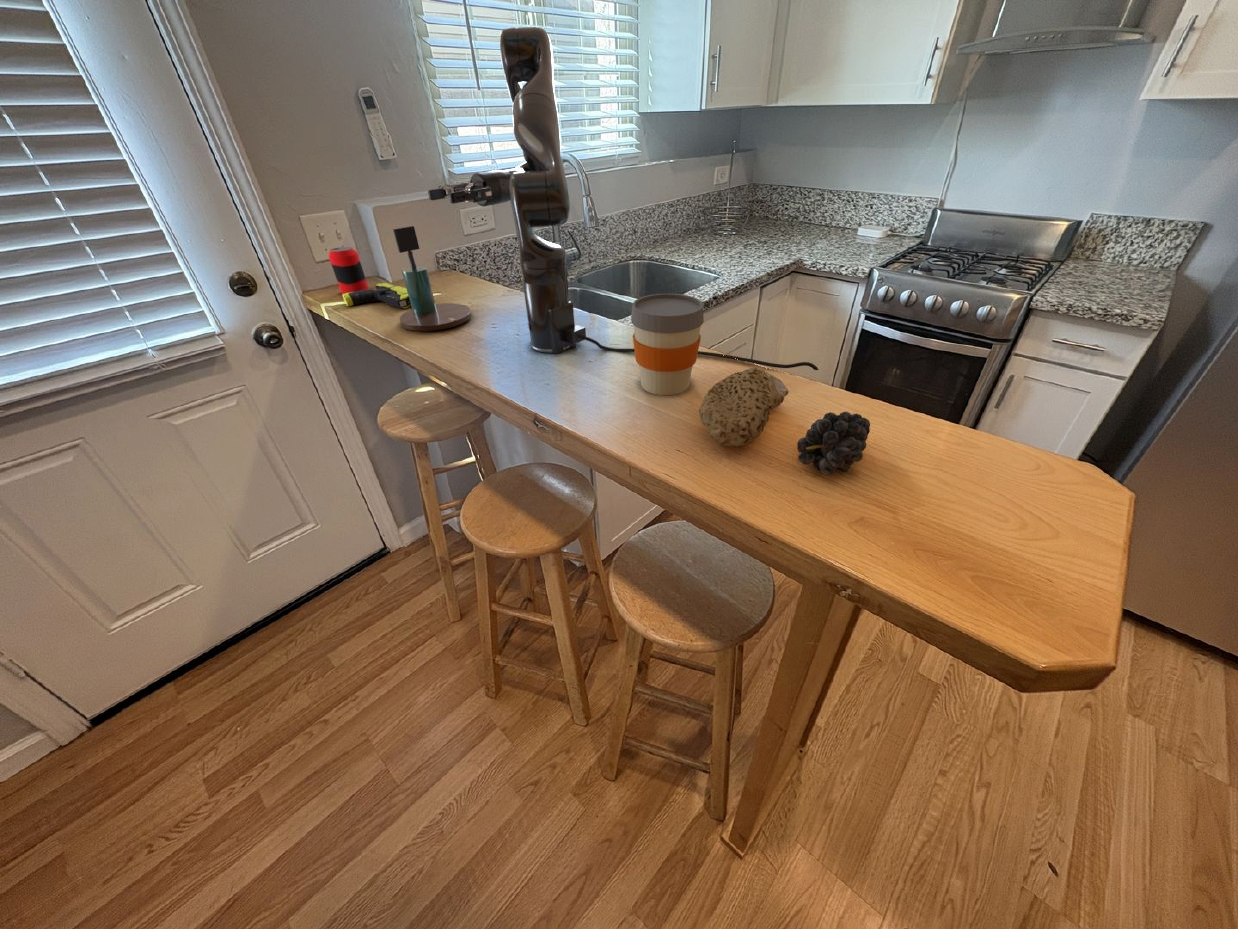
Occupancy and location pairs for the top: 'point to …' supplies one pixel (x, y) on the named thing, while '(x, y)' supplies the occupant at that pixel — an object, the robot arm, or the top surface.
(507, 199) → the robot arm
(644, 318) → the reusable coffee cup
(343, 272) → the soda can
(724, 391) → the sponge
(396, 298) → the stun gun
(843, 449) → the fruit
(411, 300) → the teal post stand
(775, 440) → the top surface
